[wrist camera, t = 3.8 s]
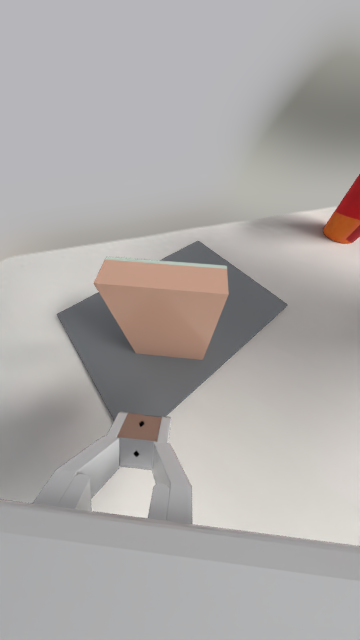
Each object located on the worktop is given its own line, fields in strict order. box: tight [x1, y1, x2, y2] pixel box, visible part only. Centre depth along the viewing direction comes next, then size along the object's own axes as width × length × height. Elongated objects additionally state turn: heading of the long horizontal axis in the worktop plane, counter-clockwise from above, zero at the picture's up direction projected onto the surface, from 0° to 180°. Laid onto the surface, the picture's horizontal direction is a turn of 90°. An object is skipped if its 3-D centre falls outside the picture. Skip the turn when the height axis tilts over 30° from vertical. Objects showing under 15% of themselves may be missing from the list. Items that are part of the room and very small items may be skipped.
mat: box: [57, 241, 288, 421], centre depth 24 cm, size 26×19×1 cm
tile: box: [94, 257, 229, 360], centre depth 16 cm, size 2×8×12 cm, turn 84°
